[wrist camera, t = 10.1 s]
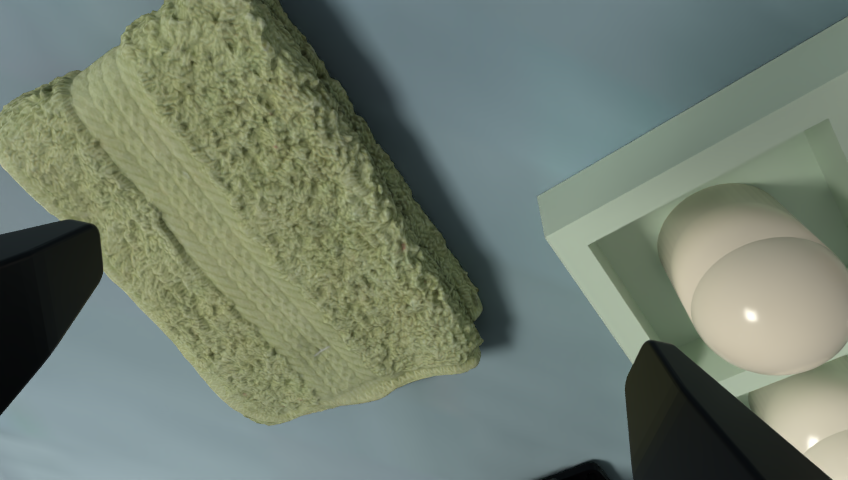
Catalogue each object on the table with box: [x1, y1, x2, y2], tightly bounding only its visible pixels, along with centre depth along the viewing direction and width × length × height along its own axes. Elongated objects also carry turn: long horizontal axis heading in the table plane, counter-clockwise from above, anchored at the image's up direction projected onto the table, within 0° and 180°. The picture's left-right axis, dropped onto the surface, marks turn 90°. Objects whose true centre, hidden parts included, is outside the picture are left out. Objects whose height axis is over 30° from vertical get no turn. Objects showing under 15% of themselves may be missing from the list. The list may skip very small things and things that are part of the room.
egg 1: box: [657, 183, 848, 376], centre depth 18 cm, size 4×4×6 cm
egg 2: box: [748, 355, 848, 480], centre depth 21 cm, size 4×4×6 cm
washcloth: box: [0, 0, 484, 426], centre depth 22 cm, size 13×18×3 cm
